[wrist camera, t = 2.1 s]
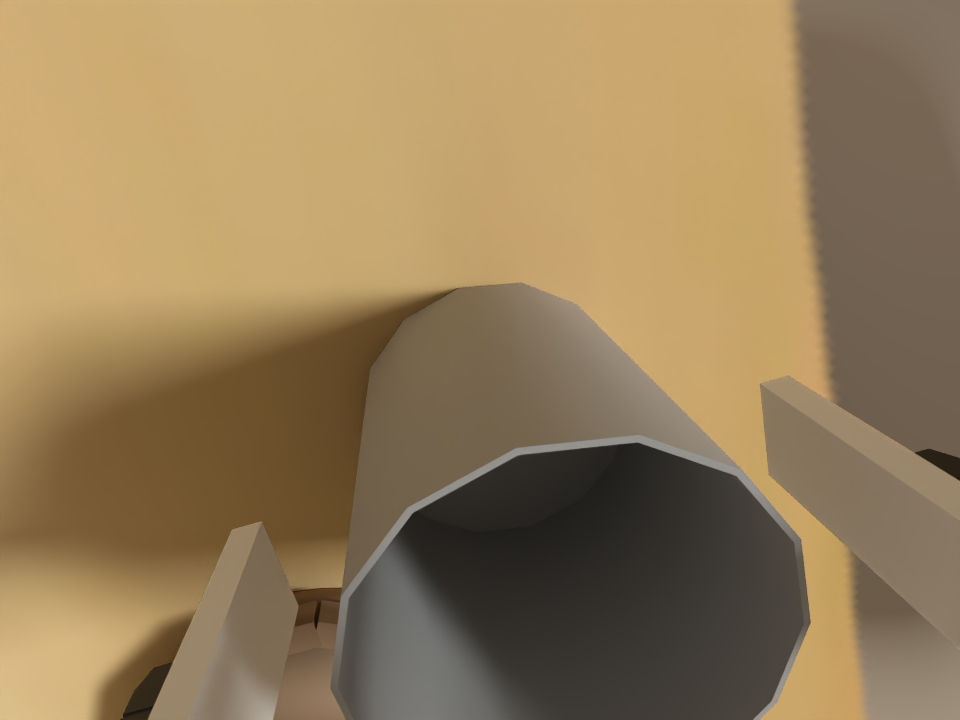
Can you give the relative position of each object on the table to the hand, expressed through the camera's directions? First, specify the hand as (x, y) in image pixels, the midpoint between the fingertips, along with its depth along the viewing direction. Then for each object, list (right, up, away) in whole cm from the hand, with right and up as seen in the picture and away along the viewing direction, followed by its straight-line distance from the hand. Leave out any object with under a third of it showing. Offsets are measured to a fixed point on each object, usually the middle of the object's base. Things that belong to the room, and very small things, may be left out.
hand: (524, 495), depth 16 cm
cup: (-1, +2, +4) cm, 5 cm away
